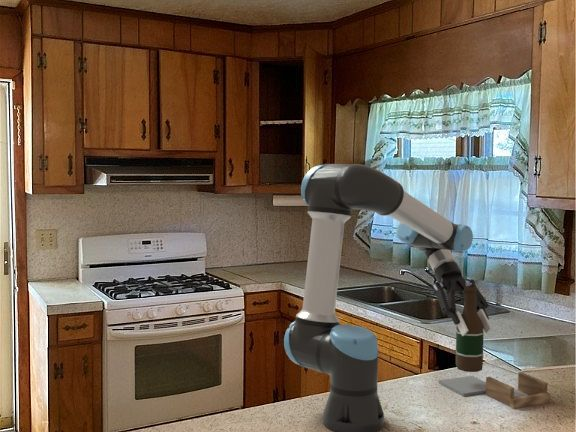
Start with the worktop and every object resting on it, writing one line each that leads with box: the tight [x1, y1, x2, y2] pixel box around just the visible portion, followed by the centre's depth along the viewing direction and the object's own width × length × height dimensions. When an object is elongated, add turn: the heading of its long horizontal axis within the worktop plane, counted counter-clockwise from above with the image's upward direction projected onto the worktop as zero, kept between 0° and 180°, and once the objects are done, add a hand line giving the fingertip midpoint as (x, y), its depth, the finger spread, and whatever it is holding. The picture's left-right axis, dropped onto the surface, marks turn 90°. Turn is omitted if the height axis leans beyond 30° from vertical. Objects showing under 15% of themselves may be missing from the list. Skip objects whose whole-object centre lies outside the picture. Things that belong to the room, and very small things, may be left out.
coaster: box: [438, 375, 486, 397], centre depth 183 cm, size 12×12×1 cm
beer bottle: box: [455, 286, 485, 373], centre depth 182 cm, size 8×8×24 cm
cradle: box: [485, 371, 551, 409], centre depth 173 cm, size 12×11×5 cm
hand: (477, 331), depth 179 cm, fingers closed on beer bottle, 7 cm apart
